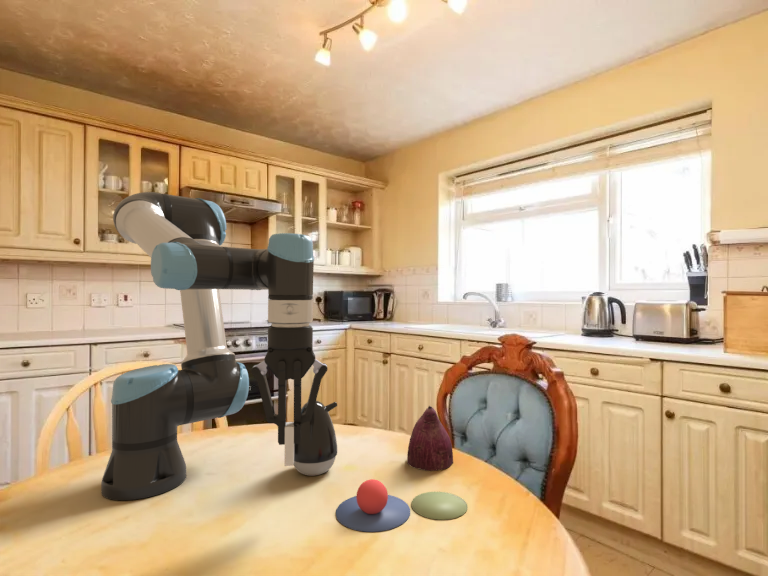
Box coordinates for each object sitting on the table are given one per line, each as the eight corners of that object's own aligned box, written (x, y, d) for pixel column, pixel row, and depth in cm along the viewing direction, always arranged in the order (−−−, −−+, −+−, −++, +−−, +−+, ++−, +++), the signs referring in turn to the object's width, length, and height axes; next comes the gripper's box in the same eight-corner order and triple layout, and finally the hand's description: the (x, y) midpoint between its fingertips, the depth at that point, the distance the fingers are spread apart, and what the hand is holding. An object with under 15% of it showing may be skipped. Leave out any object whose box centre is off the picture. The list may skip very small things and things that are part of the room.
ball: (364, 525, 72) (354, 495, 72) (360, 509, 77) (350, 481, 77) (394, 512, 73) (384, 482, 73) (388, 497, 78) (379, 469, 78)
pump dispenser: (344, 475, 90) (343, 403, 91) (294, 484, 87) (294, 408, 87) (331, 459, 100) (331, 393, 100) (286, 465, 96) (286, 397, 96)
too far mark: (419, 522, 72) (419, 521, 72) (406, 495, 81) (406, 494, 81) (476, 516, 73) (476, 515, 73) (456, 490, 83) (456, 489, 83)
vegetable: (450, 486, 92) (457, 424, 88) (402, 476, 94) (408, 415, 91) (453, 456, 102) (460, 400, 98) (410, 448, 104) (416, 392, 101)
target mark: (338, 535, 68) (338, 534, 68) (333, 497, 81) (333, 496, 81) (418, 527, 70) (418, 526, 70) (401, 491, 83) (401, 490, 83)
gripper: (247, 326, 69) (246, 474, 69) (329, 326, 71) (328, 469, 71) (253, 323, 76) (252, 456, 76) (328, 322, 78) (326, 452, 78)
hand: (289, 462), depth 74 cm, fingers closed
